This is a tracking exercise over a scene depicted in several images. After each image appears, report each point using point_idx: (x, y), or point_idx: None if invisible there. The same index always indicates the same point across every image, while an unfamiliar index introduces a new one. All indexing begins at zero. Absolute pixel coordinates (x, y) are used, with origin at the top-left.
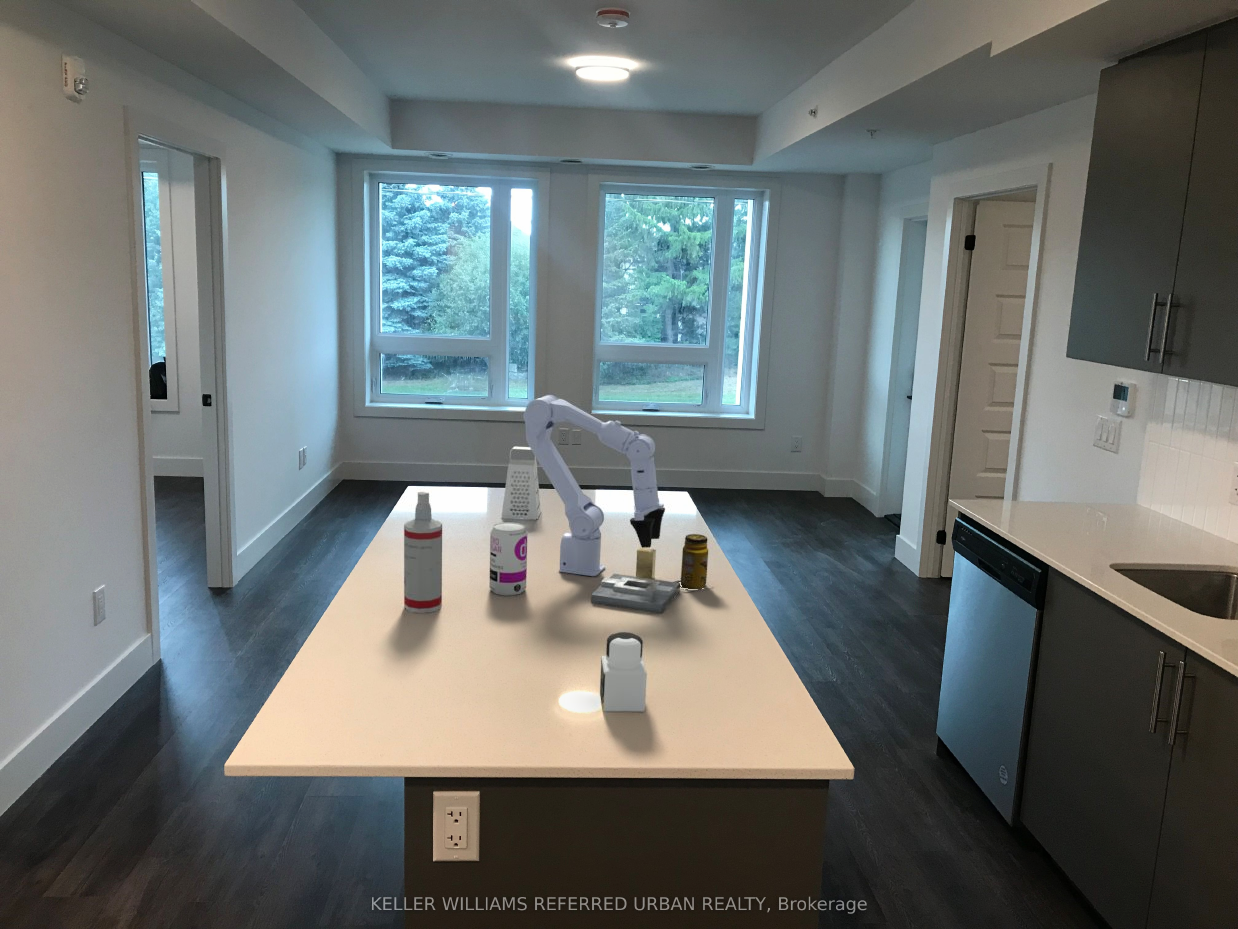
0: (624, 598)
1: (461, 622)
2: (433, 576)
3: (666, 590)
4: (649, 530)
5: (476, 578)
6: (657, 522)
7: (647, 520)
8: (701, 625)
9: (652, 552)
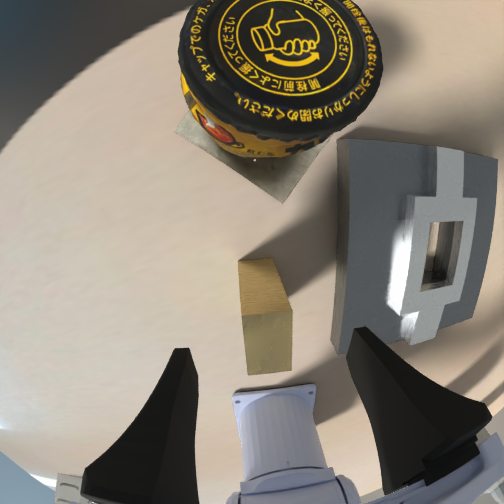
0: (486, 250)
1: (497, 378)
2: (488, 436)
3: (461, 161)
4: (436, 386)
5: (371, 459)
6: (175, 433)
7: (474, 434)
8: (489, 72)
9: (291, 313)
